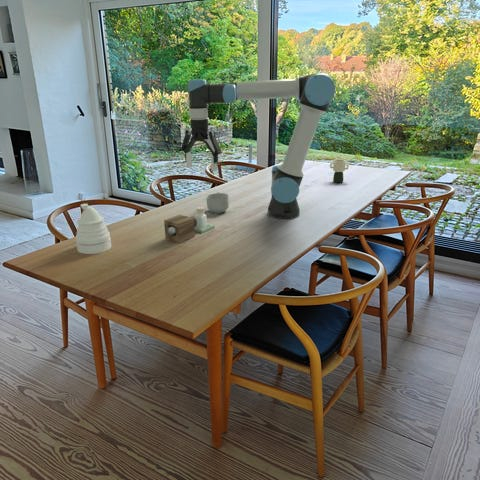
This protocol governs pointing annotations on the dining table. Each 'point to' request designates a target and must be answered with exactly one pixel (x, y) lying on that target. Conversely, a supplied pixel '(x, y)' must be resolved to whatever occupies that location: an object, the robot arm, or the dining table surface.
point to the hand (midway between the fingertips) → (201, 169)
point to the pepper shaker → (201, 218)
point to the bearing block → (180, 228)
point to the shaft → (173, 230)
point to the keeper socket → (204, 228)
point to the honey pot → (92, 232)
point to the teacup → (217, 202)
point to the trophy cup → (338, 169)
